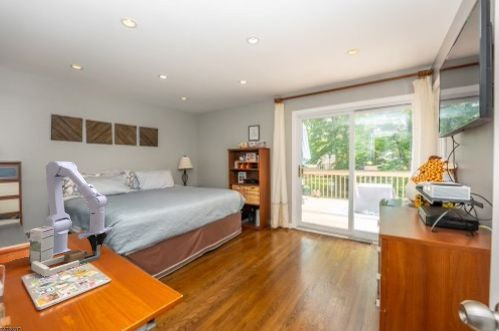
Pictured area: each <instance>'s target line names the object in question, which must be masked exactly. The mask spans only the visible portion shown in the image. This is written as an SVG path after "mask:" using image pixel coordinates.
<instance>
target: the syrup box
mask: <svg viewBox="0 0 499 331" xmlns="http://www.w3.org/2000/svg"><path fill="white" fill-rule="evenodd" d="M53 240H54V227H44V225H43V226H37V227H35V228H31V229H30V231H29V263H30V264H32V262H34V261H38V262H43V261H46V260H50V259H53V258H54V255H53Z"/></svg>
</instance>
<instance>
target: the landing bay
mask: <svg viewBox="0 0 499 331" xmlns="http://www.w3.org/2000/svg"><path fill="white" fill-rule="evenodd" d="M82 252H84V256H85V255H88V250H82ZM100 256H101V255H100ZM100 256H99V255H97V256H94V255H92V256H91V257H90V256H89V257H88V258H87V257H86V258H84V260H81V261H79V265H80V264H83V263H86V264H88V263H87V262H89V263H92V262H95V261H97V260H98V261H99V260H100ZM83 265H84V264H83ZM80 266H81V265H80Z"/></svg>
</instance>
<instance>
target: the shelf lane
mask: <svg viewBox="0 0 499 331" xmlns="http://www.w3.org/2000/svg"><path fill="white" fill-rule="evenodd" d="M62 262H63V264H61V265H58V266H54V267H52V268H50V267H49V266H52V265H56V264H59V263H62ZM78 265H79V261H78V260H77V261H74V262H71V263H67V264H66V263H64V255H61V256H56V257H53V259H50V260H46V261H43V262H38V261H34V262H32V263H31V265H30V266H31V269H30V270H31V271H33V272H34V273H36V274H38V273H39V275H40V274H41V275H43V276H44V277H43V276H42V277H43V278H46V277H45V276H47V277H49V276H48V275H50V276H52V275H51V274H53V273H56V274H58V273H57V272H59V273H61V272H60V271H62V272H64V271H63V270H65V269H68V268H71V267H74V266H77V267H79V266H78ZM74 268H75V267H74ZM71 269H72V268H71ZM68 270H69V269H68ZM65 271H66V270H65ZM41 275H40V276H41ZM53 275H54V274H53Z"/></svg>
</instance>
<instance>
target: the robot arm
mask: <svg viewBox="0 0 499 331" xmlns="http://www.w3.org/2000/svg"><path fill="white" fill-rule="evenodd" d="M45 176H46V179H45V180H46V189H47V190H46V191H47V197H48V198H47V200H48V208H49V215H48V216H47V217H46V218H45V219H44V221H43V226H44V227H54V240H53V256H56V255H59V254H64V253H67V252H71V251H72V249H70V248H68V236H69V235H68V233H69V232H70V230H71V228H72V226H73V221H72V220H71V217H70V214H69V213H66V211H65V203H64V202H65V201H64V195H63V194H64V193H63V184H62V183H63V182H62V181H63V180H64V179H65V178H67V177H68V178H69V179H70V180H71V181H72V182H73V183H74V184H75V185H76V186H77V187H78V188H79V189H78V192H79V193H80V195H81V196H82V197H84V199H85V200H86V201H87V202H86V204H87V207H88V210H89V211H88V212H89V213H90V214H89V230H88V231H85V232H82V233H78V239H79V240H83V239H84V238H85V239H87V240H88V242H89V245H90V247H91V252H92V251H96V243H97V244H100V245H101V248H102V246H103V243H104V242H105V240H106V238H107V237H108V234H107V233H109V232H114V231H115V230H114V227H113V226H108V227H105V220H106V219H105V213H106V206H107V205H108V203H109V199H108V197H107V196H106V195H105V194H101V193H100V192H99V191H98V190H97V189H96V187H95V185H94V184H91V183H87V181H86V180H85V179H84V177H83V176H82V175H81V172H79V171H78V166H77V165H76V164H75V162H73V161H70V160H69V161H62V160H61V161H60V160H59V161H58V160H51V161H49V162H48V163H47V164H46V165H45Z"/></svg>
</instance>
